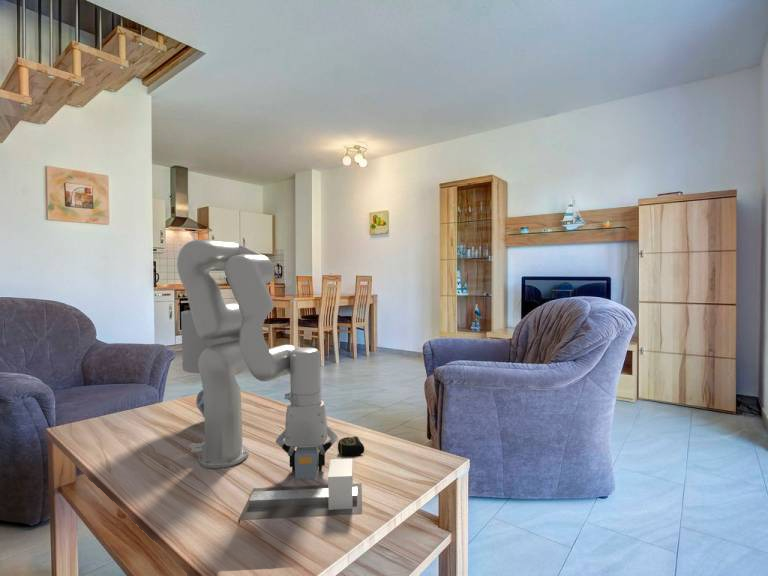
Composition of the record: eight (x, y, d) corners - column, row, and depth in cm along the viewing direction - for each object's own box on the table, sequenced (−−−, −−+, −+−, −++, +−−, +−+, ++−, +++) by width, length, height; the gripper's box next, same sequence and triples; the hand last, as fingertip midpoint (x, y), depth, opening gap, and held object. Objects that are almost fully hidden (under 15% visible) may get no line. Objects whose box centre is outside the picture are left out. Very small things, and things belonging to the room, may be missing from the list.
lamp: (183, 416, 144) (180, 309, 143) (246, 406, 154) (243, 306, 153) (186, 438, 125) (182, 315, 124) (257, 425, 135) (254, 311, 134)
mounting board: (238, 524, 82) (238, 519, 82) (253, 492, 94) (253, 488, 94) (362, 518, 83) (362, 513, 83) (361, 487, 95) (361, 483, 95)
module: (295, 483, 98) (294, 454, 97) (299, 467, 106) (299, 440, 106) (315, 482, 98) (315, 454, 98) (319, 466, 106) (318, 439, 106)
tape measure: (365, 457, 111) (364, 444, 111) (340, 461, 109) (340, 447, 109) (359, 447, 118) (358, 434, 118) (335, 450, 116) (335, 437, 116)
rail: (248, 507, 86) (248, 500, 86) (253, 498, 90) (252, 491, 90) (357, 502, 88) (357, 495, 88) (357, 493, 91) (357, 486, 91)
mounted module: (328, 509, 85) (328, 477, 85) (331, 489, 93) (330, 459, 93) (352, 508, 85) (352, 475, 85) (352, 488, 93) (352, 458, 93)
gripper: (267, 404, 97) (269, 477, 98) (340, 401, 98) (341, 474, 99) (274, 394, 104) (275, 463, 105) (341, 392, 106) (342, 460, 106)
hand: (307, 468), depth 102 cm, fingers open, 5 cm apart
